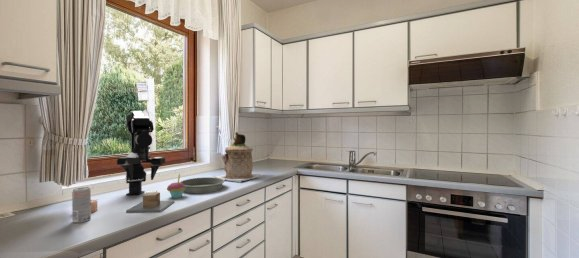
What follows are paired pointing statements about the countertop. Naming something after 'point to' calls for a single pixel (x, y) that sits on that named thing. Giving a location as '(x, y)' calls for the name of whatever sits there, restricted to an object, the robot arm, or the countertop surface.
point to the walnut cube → (151, 199)
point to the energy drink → (81, 205)
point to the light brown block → (93, 206)
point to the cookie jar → (238, 161)
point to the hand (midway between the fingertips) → (141, 179)
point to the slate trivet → (157, 208)
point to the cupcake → (176, 189)
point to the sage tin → (151, 191)
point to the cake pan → (202, 185)
